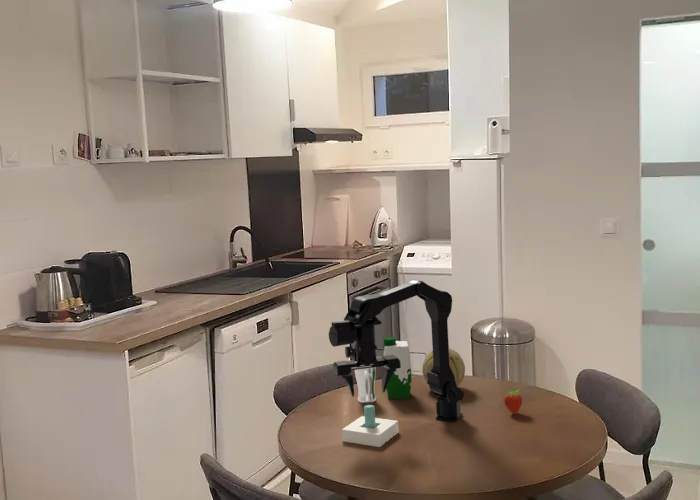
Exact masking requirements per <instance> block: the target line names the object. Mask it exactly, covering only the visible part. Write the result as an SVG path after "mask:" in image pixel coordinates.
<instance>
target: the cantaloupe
mask: <svg viewBox="0 0 700 500" xmlns="http://www.w3.org/2000/svg"><path fill="white" fill-rule="evenodd" d="M449 362H450V367H451V369H452V371H453V374H454V376H455V380H456V385H457V387H458V388H459V386H460V385H461V383H462V381H463V380H464V378H465V374H466V373H465V372H466V366H465V362H464V359H463V358H462V356H461V355H460V353H459V352H458V351H456V350H454V349H452V348H450V347H449ZM432 368H433V350H431V351H430V352H428V353H427V355H426V357H425V358H424V360H423V364H422V376H423V379H424V381H425V382H426V383H427V381H428V377H427V371H431V370H432Z"/></svg>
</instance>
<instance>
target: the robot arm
mask: <svg viewBox="0 0 700 500" xmlns="http://www.w3.org/2000/svg"><path fill="white" fill-rule="evenodd" d="M413 297H418V298H420V300H423V301H424V306H425V310H426V312H427V314H428V316H429V318H430V323H431V343H432V345H431V346H432V351H433V368H432V370H431V371H427V377H428V381H427V382H426V384H427V385H428V387H429V390H431V391H432V392H433V394H434V396H435V397H437V399H436V400H437V401H436V402H435V409H436V412H435V413H436V416H435V420H441V421H446V422H448V421H449V422H457V421H458V420H459V419H461V417H463V415H464V414H463V413H462V412H461V411H462V410H461V401H462V400H463V399H464V398H465V397H464V396H465V392H464V391H463V390H461V389H460V388H459V386H458V387H457V385H456V380H455V376H454V374H453V371H452V369H451V367H450V362H449V348H450V346H449V328H448V325H449V324H448V323H449V322H448V319H449V317H450V315H451V312H452V308H453V296H452V294H450V293H449V292H447V291H444V290H440V289H437V288H435V287H433V286H431V285H429V284H428V283H425V281H423V280H419V279H412V280H410V281H409V282H406V283H404V284H401V285H399V286H396V287H393V288H390V289H387V290H385V291H382V292H380V293H376V294H365V295H360V296H359V295H358V296H356V297H355V298H353V299H352V301H351V303H350V308H349V310H348V311H347V313H346V315H345V316H344V318H343V320H342V321H341V320H340V321H332V322H331V326H330V327H329V330H328V331H329V332H328V339H329V342H330V345H331V346H332V347H333V348H335V347H342V346H345V347H344V353H345V358H346V359H349V358H351V359H352V361H354V362H351V363H350V362H348V360H339V361H334V363H333V365H332V371H333V372H334V374H336V376H338V377H341V378H342V379H344V381H345V382H346V385H347V387H348V390H349V393H350V395H351V397H352V398H353V397H354V396H355V388H354V377H353V374H351V373H352V371H355V370H357V369H365V368H373V367H376V368H378V367H379V368H381V391H382V392H381V393H385V392H386V391H387V390H386V387H387V385H388V382H389V380H390V378H391V376H392V374H393V372H396V369H398V368H401V364H400V360H399V359H398V358H397V357H396V356H394V355H387V356H384V355H382V356H381V359H377V349H378V346H377V344H376V326H377V325H382V321H381V320H380V319H379V318H378V317H377V316H378V315H380V314H381V313H382V312H383V310H385V309H386V308H389V307H390V306H393V305H396V304H399V303H401V302H404V301H406V300H409V299H412V298H413ZM351 344H352V345H353V344H354V348H353V346H346V345H351ZM355 361H357V363H355ZM369 364H372V365H369ZM360 365H364V366H360ZM354 398H355V397H354Z"/></svg>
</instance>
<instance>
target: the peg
mask: <svg viewBox="0 0 700 500" xmlns="http://www.w3.org/2000/svg"><path fill="white" fill-rule="evenodd" d="M363 409H364V411H363V412H364V413H363V414H364V416H365V428H371V429H374V428H375V427H376V425H375V418H376V411H375V410H376V409H375V405H372V404H367V405H364V406H363Z"/></svg>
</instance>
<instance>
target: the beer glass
mask: <svg viewBox="0 0 700 500" xmlns="http://www.w3.org/2000/svg"><path fill="white" fill-rule="evenodd" d="M354 363H357V361H354ZM369 365H372V364H369ZM360 366H364V365H360ZM376 369H377V367H373V368H365V369H357V370H354V376H355V379H356V383H357V389H358V392H357V393H358V395H357V401H358V403H362V404H371V403H374V402H375V401H376V400H377V398H376V393H375V383H376V373H377V372H376Z"/></svg>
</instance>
